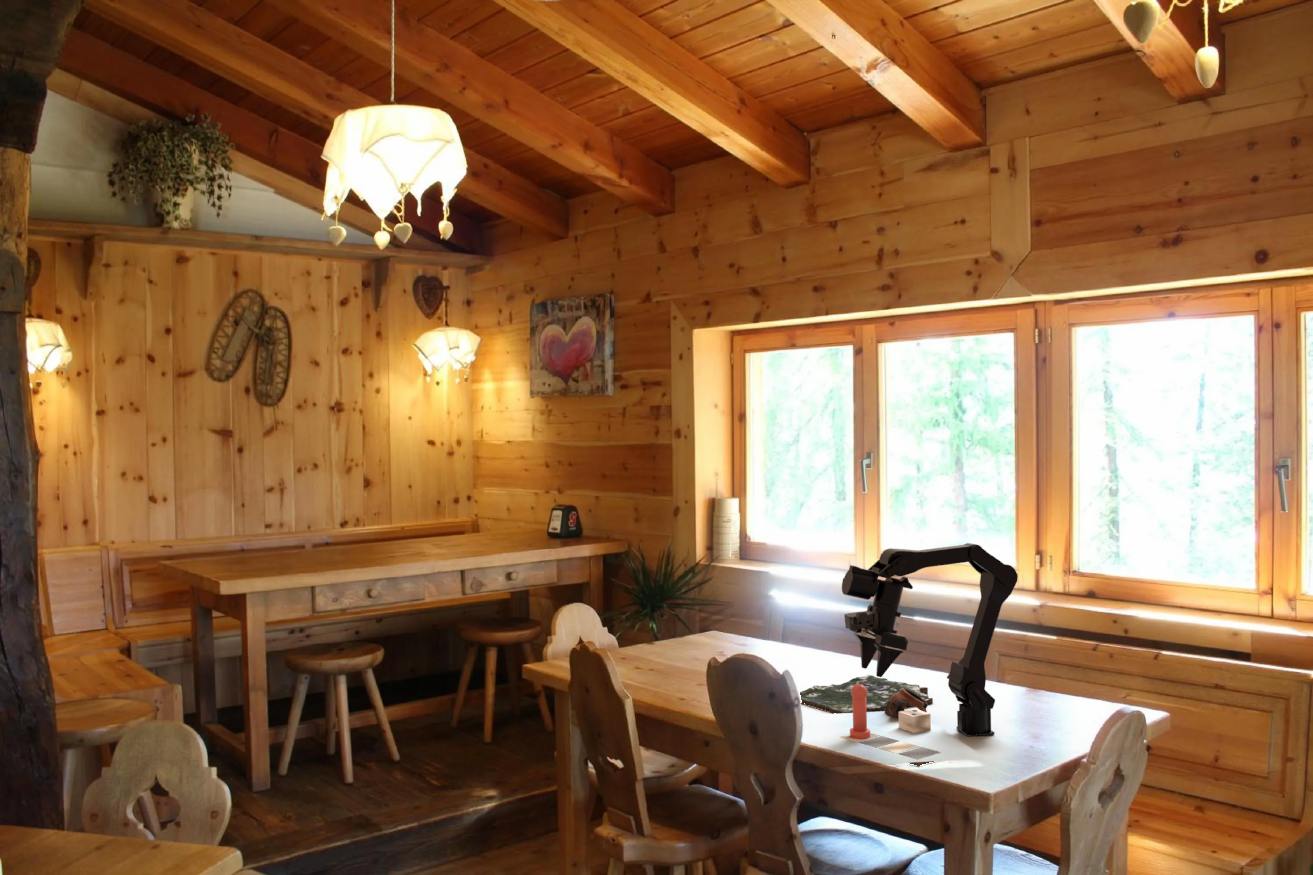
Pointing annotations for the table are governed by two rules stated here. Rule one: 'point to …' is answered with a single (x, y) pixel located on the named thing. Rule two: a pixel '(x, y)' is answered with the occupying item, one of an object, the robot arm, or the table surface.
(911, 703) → the pottery mug
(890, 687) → the topographical map
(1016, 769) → the table surface
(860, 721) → the pawn
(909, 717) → the die
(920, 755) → the game board
